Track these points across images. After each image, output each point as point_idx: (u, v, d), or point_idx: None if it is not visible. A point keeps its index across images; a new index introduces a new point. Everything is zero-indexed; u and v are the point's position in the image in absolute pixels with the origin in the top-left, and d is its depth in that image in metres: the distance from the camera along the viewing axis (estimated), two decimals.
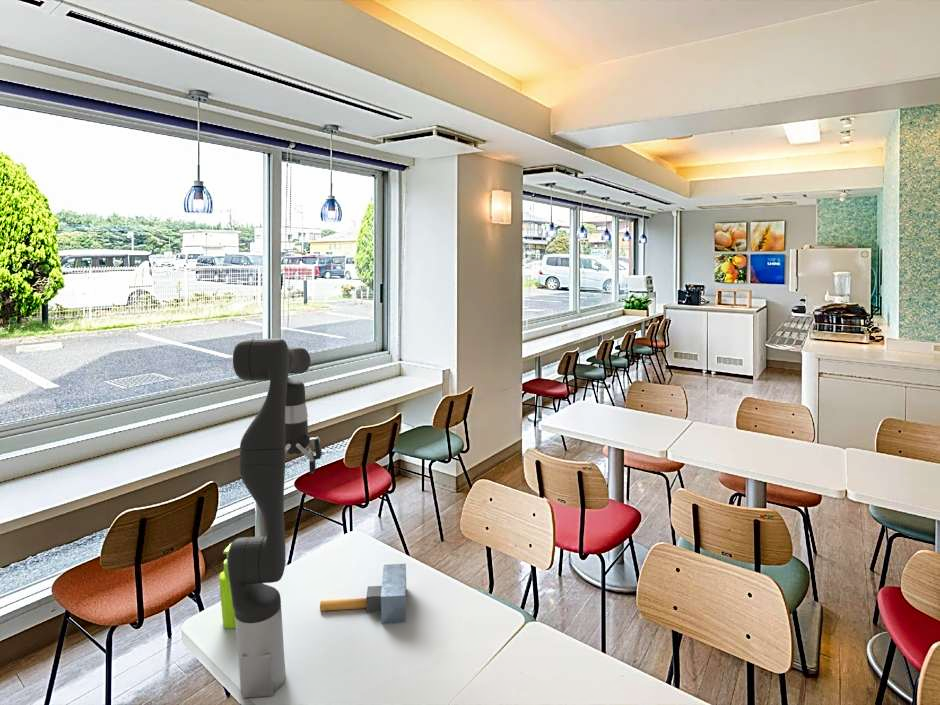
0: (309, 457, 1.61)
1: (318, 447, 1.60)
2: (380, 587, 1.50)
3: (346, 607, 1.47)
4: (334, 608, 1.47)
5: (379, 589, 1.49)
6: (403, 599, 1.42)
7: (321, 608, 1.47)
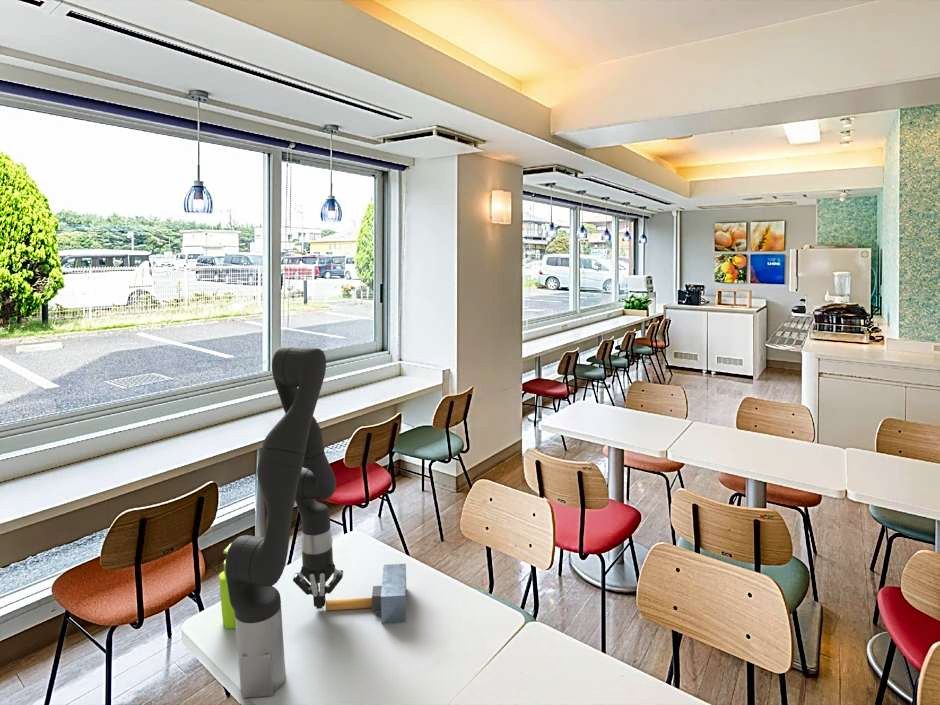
0: (321, 590, 1.46)
1: (336, 583, 1.46)
2: None
3: (352, 607, 1.47)
4: (340, 608, 1.47)
5: None
6: (403, 599, 1.42)
7: (327, 608, 1.47)
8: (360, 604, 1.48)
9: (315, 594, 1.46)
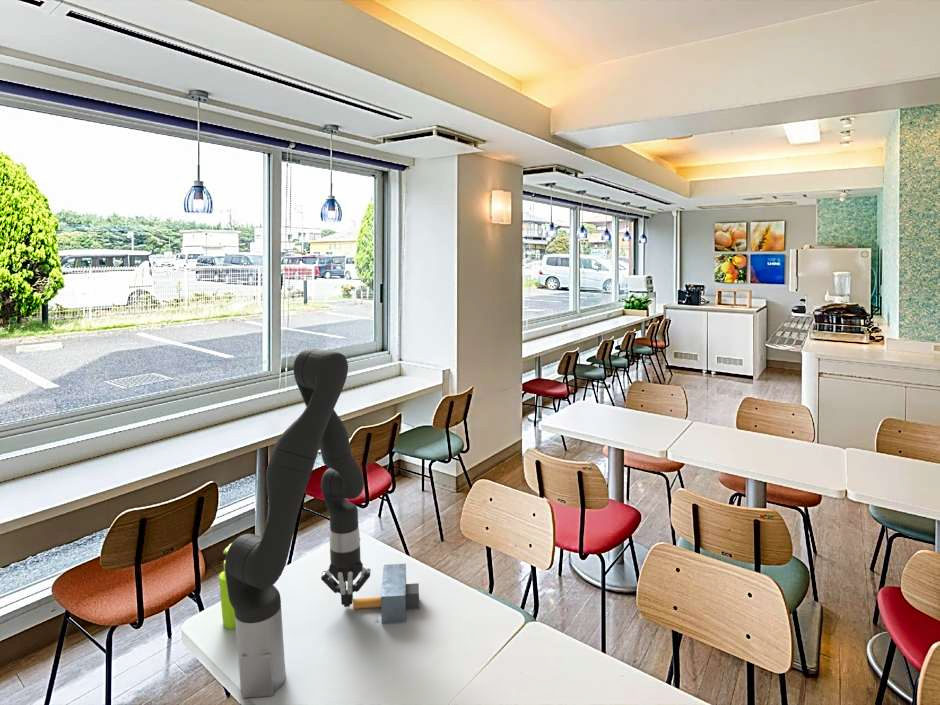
0: (349, 589, 1.46)
1: (364, 581, 1.47)
2: (412, 585, 1.51)
3: (379, 605, 1.48)
4: (367, 606, 1.48)
5: (411, 587, 1.50)
6: (403, 599, 1.42)
7: (354, 606, 1.47)
8: None
9: (343, 592, 1.46)
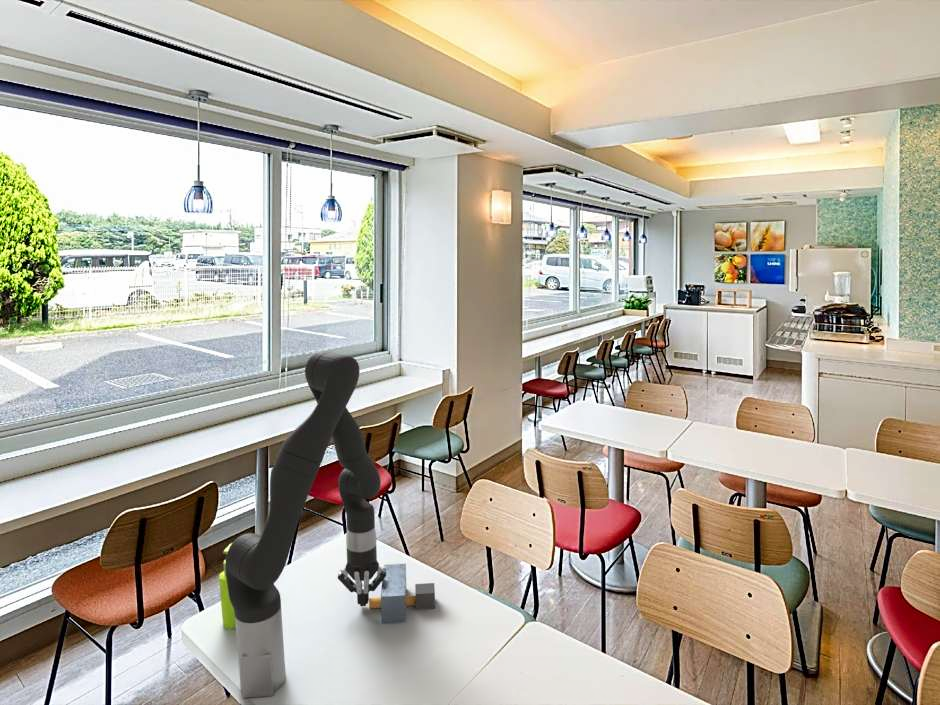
0: (365, 588, 1.47)
1: (380, 581, 1.47)
2: (428, 585, 1.51)
3: None
4: None
5: (427, 586, 1.50)
6: (403, 599, 1.42)
7: (370, 605, 1.48)
8: None
9: (359, 592, 1.47)
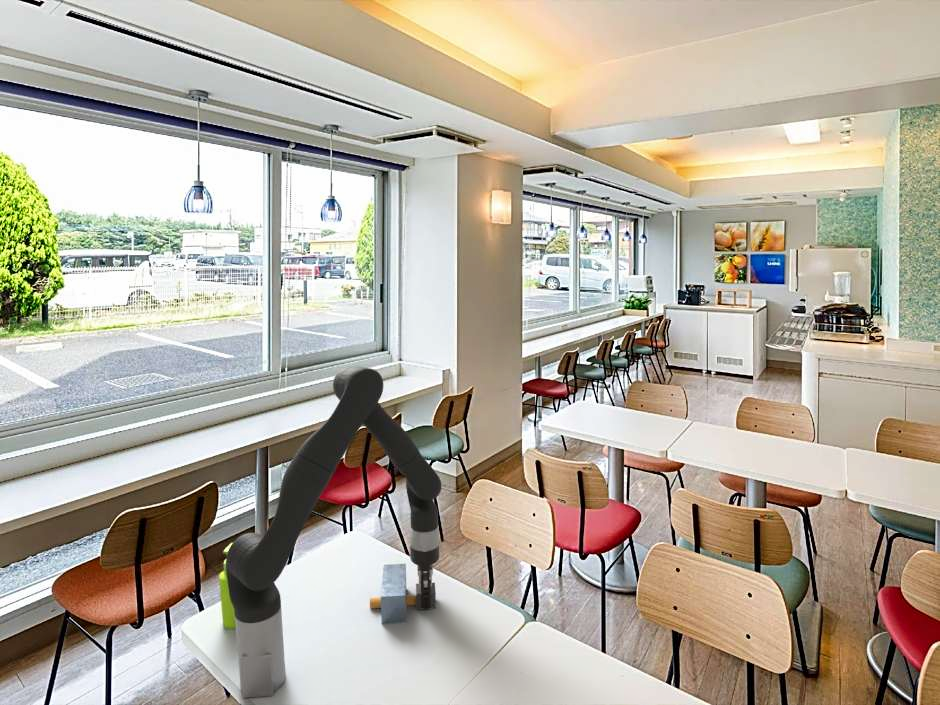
0: None
1: (421, 589, 1.43)
2: None
3: None
4: None
5: None
6: (403, 599, 1.42)
7: (371, 605, 1.48)
8: None
9: None
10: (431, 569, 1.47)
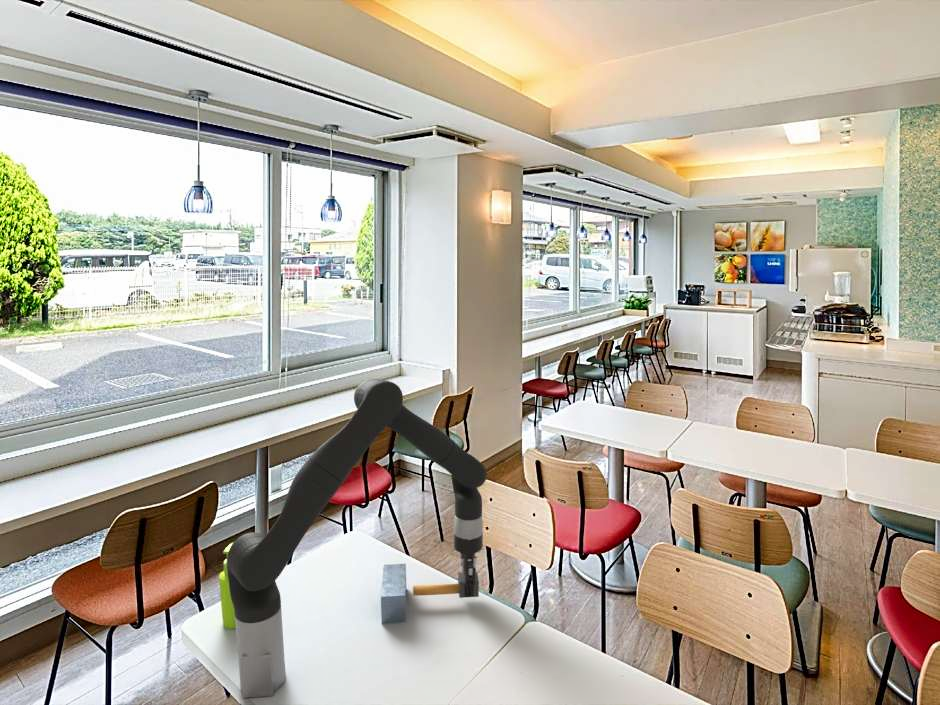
0: (464, 578, 1.47)
1: (465, 576, 1.44)
2: None
3: (439, 592, 1.49)
4: (427, 593, 1.49)
5: None
6: (403, 599, 1.42)
7: (414, 593, 1.48)
8: (447, 590, 1.49)
9: None
10: (474, 557, 1.48)
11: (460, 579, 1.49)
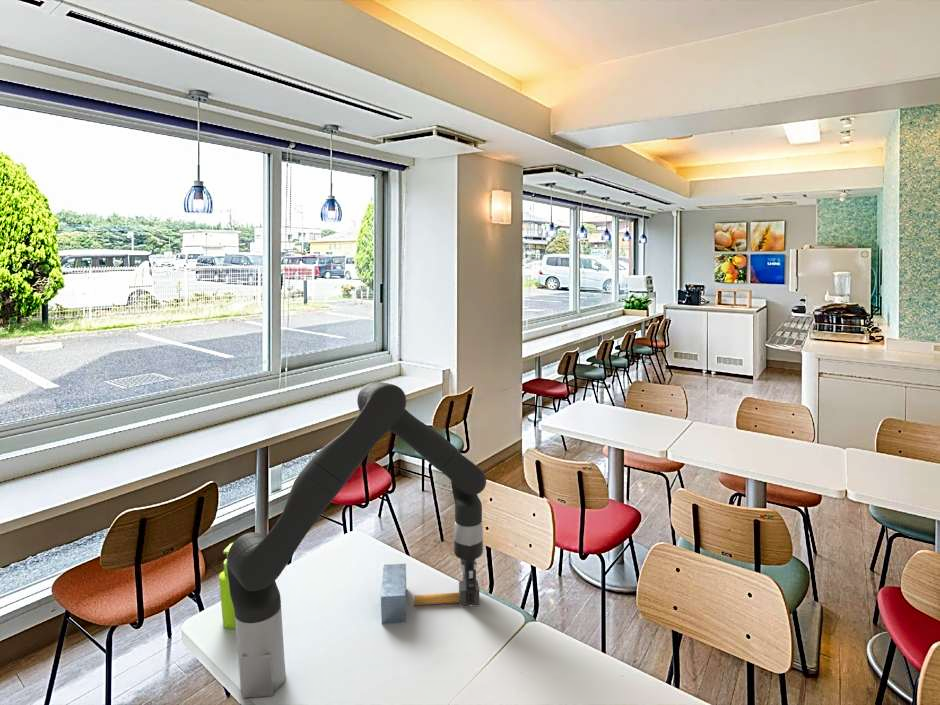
0: (465, 584, 1.46)
1: (466, 580, 1.43)
2: None
3: (439, 601, 1.50)
4: (428, 602, 1.49)
5: (471, 584, 1.52)
6: (403, 599, 1.42)
7: (415, 602, 1.49)
8: (448, 599, 1.50)
9: None
10: (475, 562, 1.48)
11: (461, 588, 1.50)
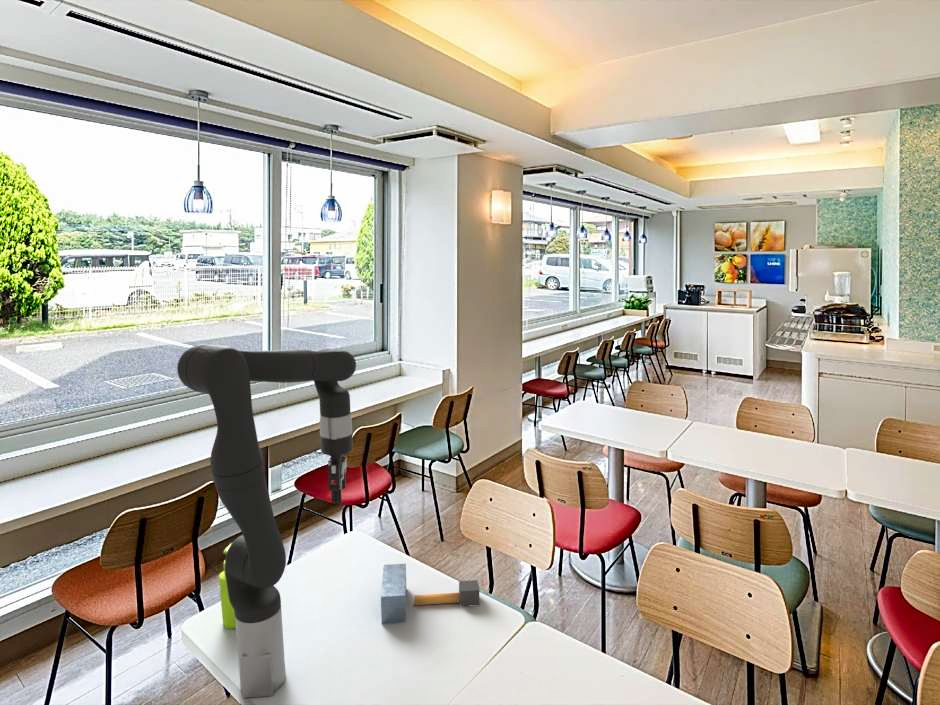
0: None
1: None
2: (471, 582, 1.52)
3: (439, 601, 1.50)
4: (428, 602, 1.49)
5: (471, 584, 1.52)
6: (403, 599, 1.42)
7: (415, 602, 1.49)
8: (448, 599, 1.50)
9: None
10: (343, 460, 1.36)
11: (461, 588, 1.50)
